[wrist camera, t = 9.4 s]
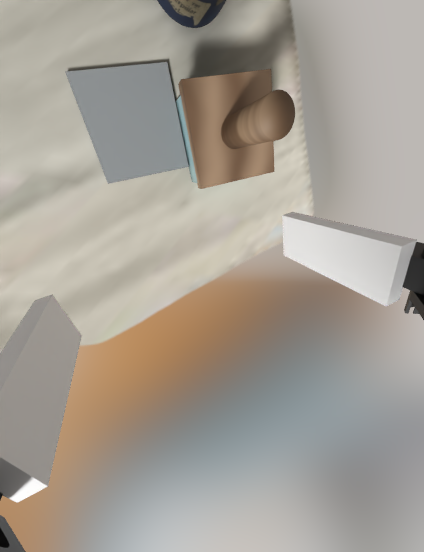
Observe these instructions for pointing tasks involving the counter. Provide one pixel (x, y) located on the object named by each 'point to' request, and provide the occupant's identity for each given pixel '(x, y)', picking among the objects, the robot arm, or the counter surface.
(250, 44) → the counter surface
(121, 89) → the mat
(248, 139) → the lid
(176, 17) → the canister
